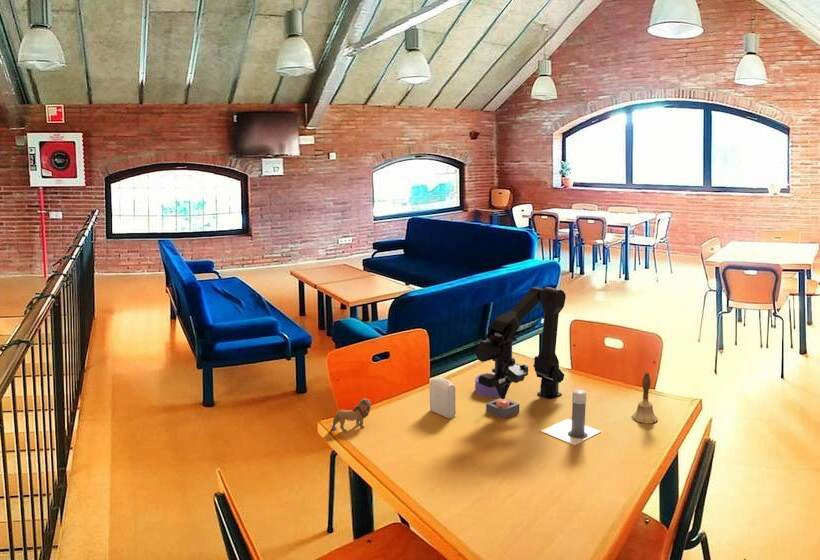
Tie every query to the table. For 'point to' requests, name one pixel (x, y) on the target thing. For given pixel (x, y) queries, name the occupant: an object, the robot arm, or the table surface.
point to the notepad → (569, 432)
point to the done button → (502, 403)
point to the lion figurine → (352, 415)
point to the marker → (578, 413)
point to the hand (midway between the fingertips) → (502, 398)
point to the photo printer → (442, 397)
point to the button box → (502, 409)
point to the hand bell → (645, 404)
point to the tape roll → (485, 389)
